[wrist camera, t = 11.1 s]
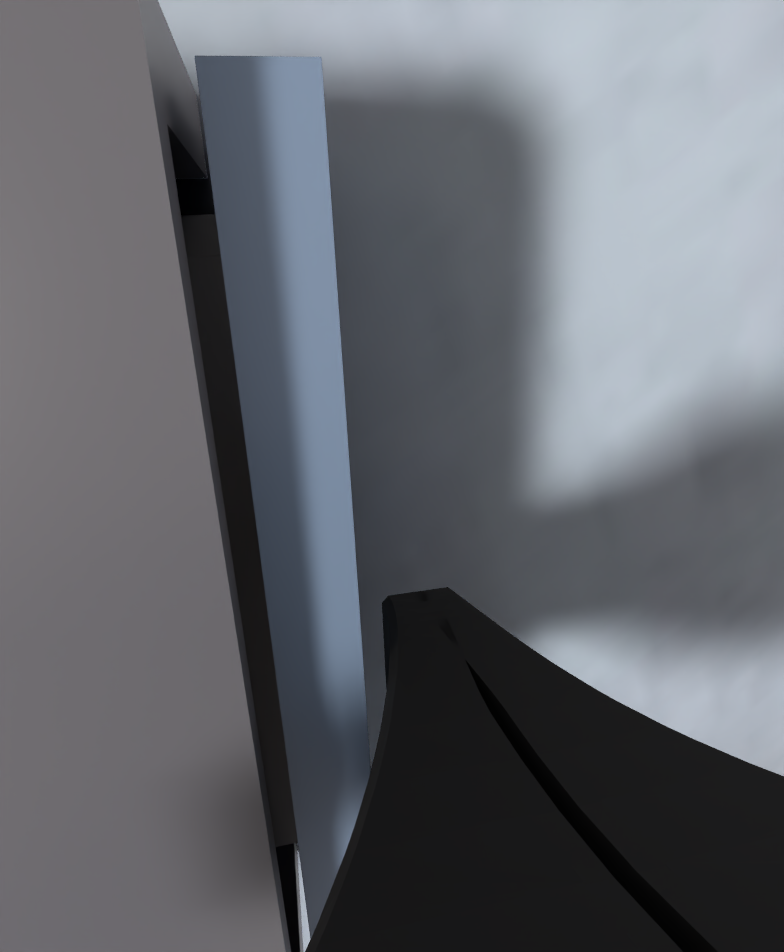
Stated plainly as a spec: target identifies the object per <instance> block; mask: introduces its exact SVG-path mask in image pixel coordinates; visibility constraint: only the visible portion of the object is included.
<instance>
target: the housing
mask: <svg viewBox="0 0 784 952" xmlns="http://www.w3.org/2000/svg"><path fill="white" fill-rule="evenodd" d="M200 178H207V171H206V163H205V155H204V148H203V140H202V133H201V125H200V118H199V110H198V103H197V95H196V92H195V90H194V88H193V85H192V83H191V80H190V78H189V75H188V73H187V71H186V68H185V66H184V63H183V61H182V58H181V56H180V54H179V51H178V49H177V46H176V44H175V41H174V39H173V37H172V34H171V32H170V29H169V27H168V24H167V22H166V20H165V17H164V15H163V12H162V10H161V7H160V5H159V2H158V0H0V952H303V938H302V922H301V906H300V890H299V873H298V857H297V847H296V843H293V844H288V845H283V846H278V847H275V841H274V834H273V827H272V821H271V814H270V807H269V801H268V794H267V787H266V781H265V774H264V767H263V761H262V754H261V747H260V741H259V734H258V727H257V721H256V714H255V707H254V701H253V694H252V687H251V681H250V674H249V667H248V660H247V654H246V647H245V640H244V634H243V627H242V620H241V614H240V607H239V600H238V594H237V587H236V580H235V574H234V567H233V560H232V554H231V547H230V540H229V534H228V527H227V520H226V514H225V507H224V500H223V494H222V487H221V480H220V474H219V467H218V460H217V454H216V447H215V440H214V434H213V427H212V420H211V414H210V407H209V400H208V394H207V387H206V380H205V374H204V367H203V360H202V354H201V347H200V340H199V334H198V327H197V320H196V314H195V307H194V300H193V293H192V287H191V280H190V273H189V267H188V260H187V253H186V247H185V240H184V233H183V227H182V220H181V213H180V207H179V200H178V193H177V187H176V180H175V179H200Z"/></svg>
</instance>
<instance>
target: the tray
mask: <svg viewBox="0 0 784 952" xmlns="http://www.w3.org/2000/svg"><path fill="white" fill-rule="evenodd" d="M195 63H196V70H197V78H198V86H199V93H200V101H201V108H202V116H203V124H204V131H205V139H206V146H207V154H208V162H209V169H210V177H211V185H212V192H213V200H214V207H215V214H211V215H181V220H182V227H183V233H184V240H185V247H186V253H187V260H188V267H189V273H190V280H191V287H192V293H193V300H194V307H195V314H196V320H197V327H198V334H199V340H200V347H201V354H202V360H203V367H204V374H205V380H206V387H207V394H208V400H209V407H210V414H211V420H212V427H213V434H214V440H215V447H216V454H217V460H218V467H219V474H220V480H221V487H222V494H223V500H224V507H225V514H226V520H227V527H228V534H229V540H230V547H231V554H232V560H233V567H234V574H235V580H236V587H237V594H238V600H239V607H240V614H241V620H242V627H243V634H244V640H245V647H246V654H247V660H248V667H249V674H250V681H251V687H252V694H253V701H254V707H255V714H256V721H257V727H258V734H259V741H260V747H261V754H262V761H263V767H264V774H265V781H266V787H267V794H268V801H269V807H270V814H271V821H272V827H273V834H274V841H275V847H278V846H283V845H288V844H293V843H298V847H299V855H300V862H301V870H302V877H303V885H304V893H305V900H306V908H307V915H308V923H309V931H310V938H311V937H312V935H313V933H314V930H315V928H316V926H317V924H318V921H319V919H320V916H321V913H322V911H323V908H324V906H325V903H326V901H327V898H328V896H329V893H330V890H331V888H332V885H333V883H334V880H335V878H336V875H337V873H338V870H339V867H340V865H341V862H342V860H343V857H344V855H345V852H346V849H347V846H348V843H349V841H350V838H351V835H352V832H353V829H354V826H355V823H356V820H357V816H358V813H359V810H360V806H361V803H362V800H363V796H364V793H365V790H366V786H367V783H368V780H369V776H370V772H371V768H370V754H369V739H368V725H367V710H366V696H365V681H364V667H363V653H362V638H361V624H360V609H359V595H358V580H357V566H356V551H355V537H354V522H353V508H352V493H351V479H350V464H349V450H348V435H347V421H346V407H345V392H344V378H343V363H342V349H341V334H340V320H339V305H338V291H337V276H336V262H335V247H334V233H333V218H332V204H331V190H330V175H329V161H328V146H327V132H326V117H325V103H324V88H323V74H322V59H321V57H273V56H195Z"/></svg>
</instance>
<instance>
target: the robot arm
mask: <svg viewBox="0 0 784 952" xmlns="http://www.w3.org/2000/svg"><path fill="white" fill-rule="evenodd" d="M382 613H383V632H384V651H385V669H386V688H387V692H386V698H385V705H384V711H383V718H382V724H381V729H380V734H379V739H378V743H377V748H376V752H375V756H374V760H373V764H372V768H371V772H370V776H369V780H368V783H367V786H366V790H365V793H364V796H363V800H362V803H361V806H360V810H359V813H358V816H357V820H356V823H355V826H354V829H353V832H352V835H351V838H350V841H349V843H348V846H347V849H346V852H345V855H344V857H343V860H342V862H341V865H340V867H339V870H338V873H337V875H336V878H335V880H334V883H333V885H332V888H331V890H330V893H329V896H328V898H327V901H326V903H325V906H324V908H323V911H322V913H321V916H320V919H319V921H318V924H317V926H316V928H315V930H314V933H313V935H312V937H311V940H310V942H309V944H308V947H307V949H306V951H305V952H784V776H781V775H779V774H776V773H773V772H771V771H768V770H766V769H763V768H760V767H758V766H755V765H753V764H750V763H748V762H745V761H743V760H741V759H738V758H736V757H734V756H731V755H729V754H727V753H724V752H722V751H720V750H717V749H715V748H713V747H710V746H708V745H706V744H703V743H701V742H699V741H696V740H694V739H692V738H690V737H688V736H685V735H683V734H681V733H679V732H677V731H675V730H673V729H670V728H668V727H666V726H664V725H662V724H660V723H658V722H656V721H654V720H652V719H650V718H649V717H647V716H645V715H643V714H641V713H639V712H637V711H635V710H633V709H631V708H629V707H627V706H625V705H623V704H621V703H619V702H617V701H616V700H614V699H612V698H610V697H609V696H607V695H605V694H603V693H601V692H600V691H598V690H596V689H594V688H593V687H591V686H589V685H588V684H586V683H584V682H583V681H581V680H580V679H578V678H576V677H575V676H573V675H571V674H570V673H568V672H567V671H565V670H563V669H562V668H560V667H558V666H557V665H555V664H554V663H552V662H551V661H549V660H548V659H546V658H545V657H543V656H542V655H540V654H539V653H537V652H536V651H534V650H533V649H531V648H530V647H528V646H527V645H525V644H524V643H523V642H521V641H520V640H518V639H517V638H516V637H514V636H513V635H511V634H510V633H509V632H507V631H506V630H504V629H503V628H502V627H500V626H499V625H498V624H496V623H495V622H494V621H492V620H491V619H490V618H488V617H487V616H486V615H484V614H483V613H482V612H480V611H479V610H478V609H476V608H475V607H474V606H472V605H471V604H470V603H468V602H467V601H466V600H464V599H463V598H462V597H460V596H459V595H458V594H456V593H455V592H454V591H452V590H451V589H449V588H448V587H446V588H439V589H432V590H425V591H418V592H411V593H404V594H397V595H390V596H388V597H387V598H386V599H385V600H384V601H383V602H382Z"/></svg>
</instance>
